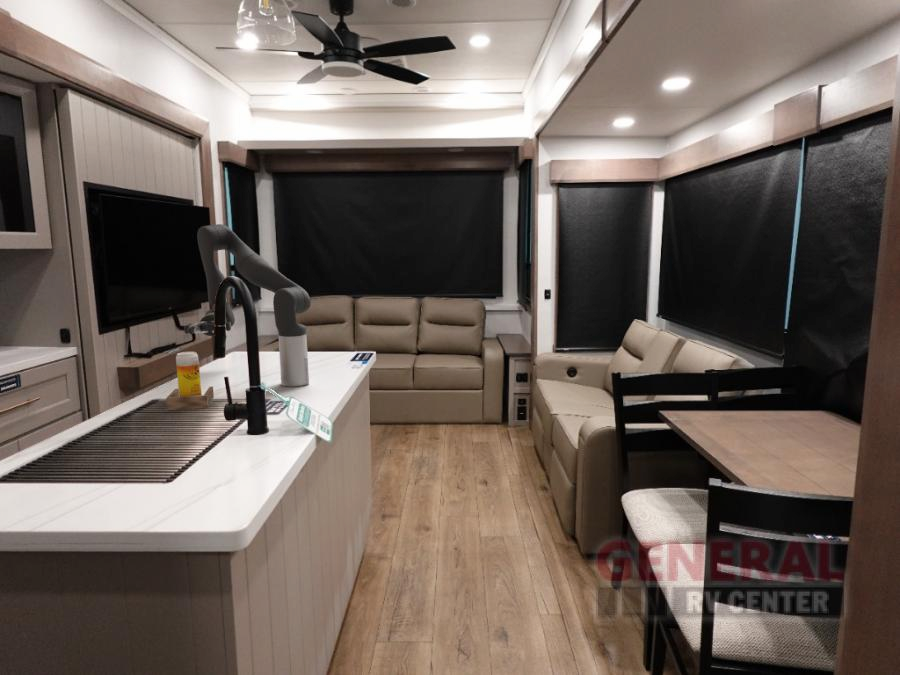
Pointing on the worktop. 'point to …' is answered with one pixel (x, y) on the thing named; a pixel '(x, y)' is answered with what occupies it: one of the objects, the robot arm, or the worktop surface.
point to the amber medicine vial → (188, 374)
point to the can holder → (189, 400)
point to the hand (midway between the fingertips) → (204, 330)
